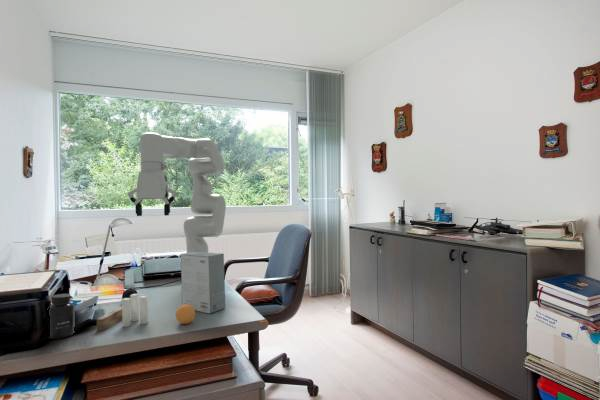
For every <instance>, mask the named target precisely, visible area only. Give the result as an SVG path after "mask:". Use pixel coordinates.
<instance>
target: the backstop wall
mask: <svg viewBox="0 0 600 400" xmlns="http://www.w3.org/2000/svg"><path fill="white" fill-rule="evenodd" d="M120 321H122V305H121V306H119V307H117V308H115V309H113V310H111V311H109V312H108V313H105V314H104V315H102V316H100V317H98V318H96V331H101V332H102V331H105V330H106V329H108V328H110V327H111V326H114V325H115V324H117V323H119V322H120Z"/></svg>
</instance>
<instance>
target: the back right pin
mask: <svg viewBox="0 0 600 400" xmlns="http://www.w3.org/2000/svg"><path fill="white" fill-rule="evenodd" d="M130 314H131V322H138V321H140V304H139V293H138V294H132V295H130Z"/></svg>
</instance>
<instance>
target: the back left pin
mask: <svg viewBox="0 0 600 400" xmlns="http://www.w3.org/2000/svg"><path fill="white" fill-rule="evenodd" d="M121 306H122V320H121V321H122V323H121V325H122V327H123V328H127V327H130V326H132V323H131V322H132V321H131V303H130V298H124V299H123V298H122V299H121Z"/></svg>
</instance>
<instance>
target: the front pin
mask: <svg viewBox="0 0 600 400" xmlns="http://www.w3.org/2000/svg"><path fill="white" fill-rule="evenodd" d="M138 303H139V324H140V325H146V324H148V323H149V307H148V295H141V296H138Z"/></svg>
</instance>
